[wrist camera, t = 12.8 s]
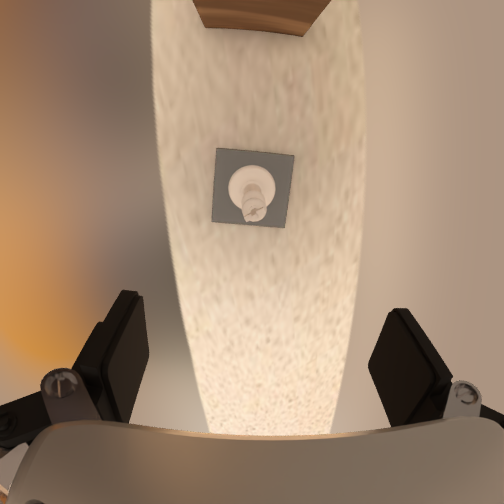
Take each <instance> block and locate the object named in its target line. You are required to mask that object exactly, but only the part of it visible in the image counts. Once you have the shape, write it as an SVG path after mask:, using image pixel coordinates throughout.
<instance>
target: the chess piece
mask: <svg viewBox="0 0 504 504" xmlns="http://www.w3.org/2000/svg"><path fill="white" fill-rule="evenodd" d="M228 191H229V195H230V198H231V200H232V201H233V203H234V204H235V205H236V206H237V207H239V208H240V209H242V214H243V216H244V219H245V221H246V222H248V221H252V222H256V221H259V220H261V219H263V218H264V216H265V215H266V212H267V206H268V205H269V204H270V203H271V201H272V200H273V198H274V195H275V181H274V179H273V177H272V175H271V174H270V173H269V172H268V171H267V170H266V169H264V168H262V167H260V166H256V165H248V166H244V167H242V168H240V169H238V170H237V171H236V172H235V173H234V174H233V175H232V177H231V179H230V181H229V185H228Z"/></svg>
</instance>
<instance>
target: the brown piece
mask: <svg viewBox="0 0 504 504" xmlns="http://www.w3.org/2000/svg"><path fill="white" fill-rule="evenodd" d="M330 1H331V0H193V3H194V5H195V7H196V9H197V11H198V13H199V15H200V18H201V20H202V22H203V24H204V26H205V28H228V29H243V30H255V31H265V32H274V33H281V34H288V35H295V36H301V37H303V35H304V34H305V33H306V31H307V30H308V29H309V28H310V26H311V25H312V24H313V22H314V21H315V20H316V19H317V17H318V16H319V15H320V14H321V12H322V11H323V10H324V9H325V7H326V6H327V5H328V4H329V3H330Z"/></svg>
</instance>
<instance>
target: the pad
mask: <svg viewBox="0 0 504 504" xmlns="http://www.w3.org/2000/svg"><path fill="white" fill-rule="evenodd" d="M293 163H294V156H293V155H284V154H276V153H266V152H257V151H246V150H234V149H221V148H217V151H216V164H215V177H214V192H213V207H212V222H219V223H231V224H243V225H255V226H266V227H277V228H285V222H286V215H287V208H288V201H289V193H290V186H291V178H292V171H293ZM248 165H256V166H260V167H262V168H264V169H266V170H267V171H268V172H269V173H270V174H271V175H272V177H273V179H274V181H275V195H274V198H273V200H272V201H271V203H270V204H269V205H268V206H267V212H266V215H265V216H264V218H263V219H261V220H259V221H256V222H252V221H248V222H246V221H245V219H244V216H243V214H242V209H240V208H239V207H237V206H236V205H235V204H234V203H233V201H232V200H231V198H230V195H229V191H228V185H229V181H230V179H231V177H232V175H233V174H234V173H235V172H236V171H237V170H238V169H240V168H242V167H244V166H248Z"/></svg>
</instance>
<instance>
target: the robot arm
mask: <svg viewBox="0 0 504 504" xmlns="http://www.w3.org/2000/svg"><path fill="white" fill-rule="evenodd" d="M148 358H149V347H148V339H147V331H146V322H145V312H144V302H143V297H142V296H139V295H138V292H137V291H129V290H122V291H121V292H120V294H119V296H118V298H117V299H116V301H115V302H114V304H113V306H112V308H111V309H110V311H109V313H108V314H107V316H106V318H105V320H104V321H103V322H98V323H97V324H96V326H95V327H94V329H93V331H92V333H91V335H90V336H89V338H88V340H87V341H86V343H85V345H84V347H83V349H82V350H81V352H80V354H79V356H78V357H77V359H76V361H75V363H74V365H73V367H72V369H68V368H58V369H54V370H52V371H50V372H49V373H47V374H46V375H45V376H44V377H43V379H42V381H41V384H40V388H41V391H39V392H36V393H33V394H31V395H28V396H26V397H23V398H20V399H17V400H15V401H12V402H9V403H6V404H4V405H1V406H0V504H504V415H503V414H501V413H499V412H497V411H495V410H493V409H490V408H488V407H486V406H484V405H482V404H481V401H482V399H481V394H480V391H479V390H478V389H477V387H475V386H474V385H473V384H471V383H469V382H467V381H460V380H459V381H456V382H454V383H453V384H452V382H451V379H452V377H453V375H452V374H451V372H450V371H449V369H448V367H447V366H446V365H445V363H444V361H443V360H442V358H441V356H440V355H439V354H438V352H437V350H436V349H435V347H434V346H433V344H432V343H431V341H430V340H429V339H428V337H427V336H426V334H425V332H424V331H423V330H422V328H421V327H420V325H419V324H418V322H417V321H416V319H415V318H414V317H413V315H412V314H411V312H410V311H409V310H408V309H407V308H394V309H393V310H392V311H391V312H389V313H388V315H387V318H386V320H385V323H384V325H383V328H382V331H381V333H380V336H379V338H378V341H377V343H376V346H375V348H374V350H373V353H372V355H371V357H370V360H369V363H368V369H369V372H370V374H371V376H372V379H373V381H374V384H375V386H376V389H377V392H378V394H379V397H380V399H381V402H382V404H383V407H384V409H385V412H386V415H387V417H388V420H389V422H390V425H391V427H390V428H383V429H376V430H368V431H358V432H348V433H336V434H321V435H297V436H253V435H228V434H213V433H201V432H191V431H182V430H172V429H164V428H157V427H149V426H143V425H136V424H129V420H130V417H131V413H132V410H133V407H134V404H135V400H136V397H137V394H138V390H139V387H140V384H141V381H142V377H143V374H144V371H145V368H146V365H147V362H148ZM11 483H12V485H11V487H10V491H9V493H8V489H9V485H10V484H11Z"/></svg>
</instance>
